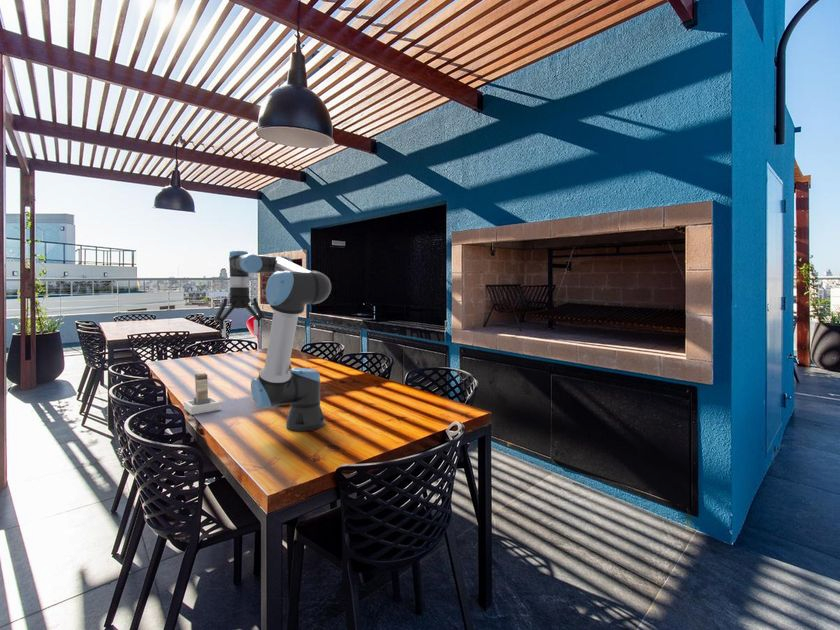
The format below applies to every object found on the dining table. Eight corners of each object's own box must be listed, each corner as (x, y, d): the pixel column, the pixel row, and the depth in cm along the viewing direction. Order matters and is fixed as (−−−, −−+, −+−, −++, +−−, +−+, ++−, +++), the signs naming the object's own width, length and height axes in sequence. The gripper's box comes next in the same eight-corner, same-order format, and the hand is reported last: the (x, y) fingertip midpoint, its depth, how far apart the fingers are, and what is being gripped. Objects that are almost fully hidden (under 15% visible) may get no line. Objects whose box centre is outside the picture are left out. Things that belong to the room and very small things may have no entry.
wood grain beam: (208, 405, 194) (207, 374, 193) (198, 406, 191) (197, 375, 190) (205, 403, 197) (204, 373, 196) (195, 404, 194) (195, 374, 193)
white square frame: (220, 409, 194) (220, 398, 194) (191, 414, 186) (190, 403, 186) (211, 404, 203) (211, 393, 202) (184, 408, 195) (183, 398, 194)
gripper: (264, 286, 195) (265, 333, 197) (205, 286, 178) (206, 336, 180) (271, 287, 190) (271, 334, 191) (211, 286, 173) (212, 338, 174)
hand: (240, 335), depth 185 cm, fingers open, 13 cm apart
